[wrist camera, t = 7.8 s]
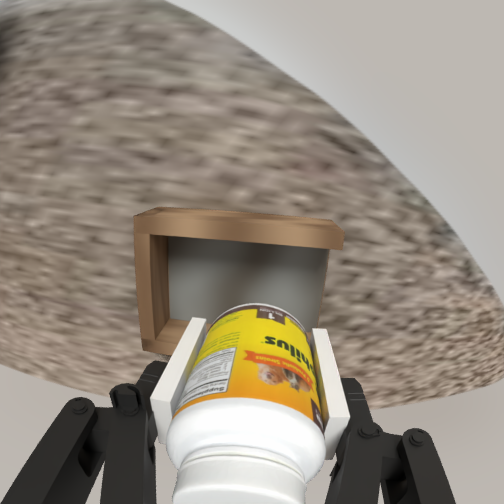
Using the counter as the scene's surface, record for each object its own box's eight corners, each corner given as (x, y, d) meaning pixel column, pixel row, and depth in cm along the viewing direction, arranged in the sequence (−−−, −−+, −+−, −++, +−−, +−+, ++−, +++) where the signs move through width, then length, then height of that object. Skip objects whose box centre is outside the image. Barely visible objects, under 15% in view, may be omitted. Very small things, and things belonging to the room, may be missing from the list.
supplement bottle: (326, 356, 16) (360, 520, 6) (244, 394, 17) (220, 546, 7) (274, 277, 15) (269, 450, 5) (186, 327, 16) (108, 480, 6)
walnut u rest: (331, 219, 24) (344, 232, 19) (313, 338, 27) (319, 370, 22) (158, 206, 24) (133, 216, 20) (161, 323, 27) (142, 350, 23)
